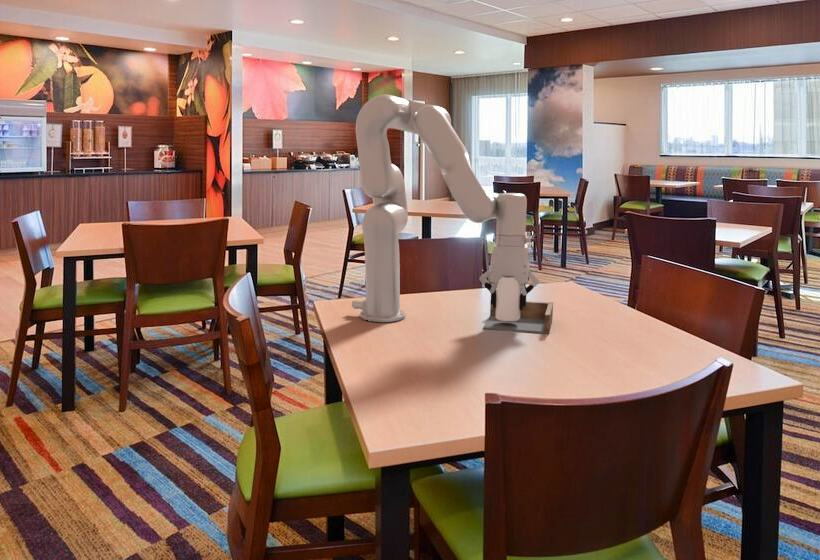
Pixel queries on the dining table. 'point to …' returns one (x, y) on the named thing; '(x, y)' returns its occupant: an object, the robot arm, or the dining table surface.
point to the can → (508, 300)
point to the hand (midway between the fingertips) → (508, 307)
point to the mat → (517, 325)
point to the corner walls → (534, 312)
